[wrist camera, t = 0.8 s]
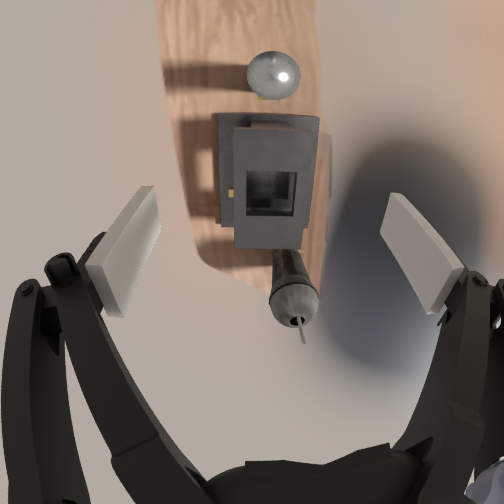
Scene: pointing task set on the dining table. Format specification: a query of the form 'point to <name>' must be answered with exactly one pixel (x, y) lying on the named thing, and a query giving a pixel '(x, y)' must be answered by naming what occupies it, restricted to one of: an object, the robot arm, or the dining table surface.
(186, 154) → the dining table surface
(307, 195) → the grey holder stand
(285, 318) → the beverage cup
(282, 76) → the silver metal cylinder
